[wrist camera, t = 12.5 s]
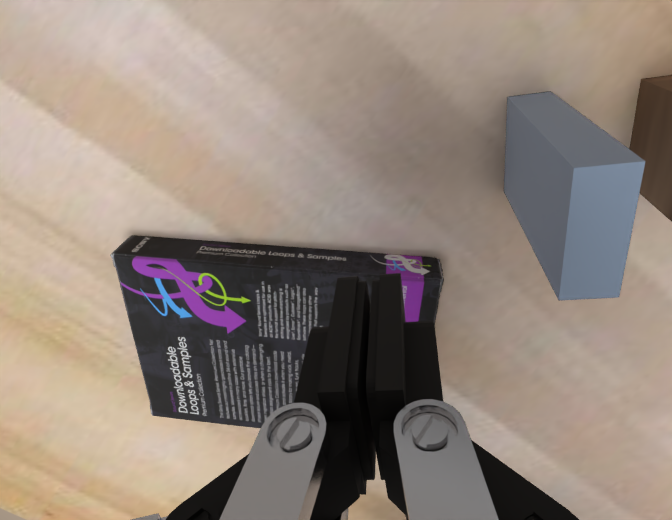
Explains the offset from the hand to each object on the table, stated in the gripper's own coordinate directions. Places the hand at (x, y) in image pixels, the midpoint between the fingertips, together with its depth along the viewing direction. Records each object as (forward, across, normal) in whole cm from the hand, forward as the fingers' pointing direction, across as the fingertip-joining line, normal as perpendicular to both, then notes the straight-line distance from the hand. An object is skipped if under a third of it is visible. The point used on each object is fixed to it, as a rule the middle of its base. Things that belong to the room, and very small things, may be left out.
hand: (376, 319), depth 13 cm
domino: (+14, -7, +1) cm, 16 cm away
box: (+15, +8, +12) cm, 21 cm away
